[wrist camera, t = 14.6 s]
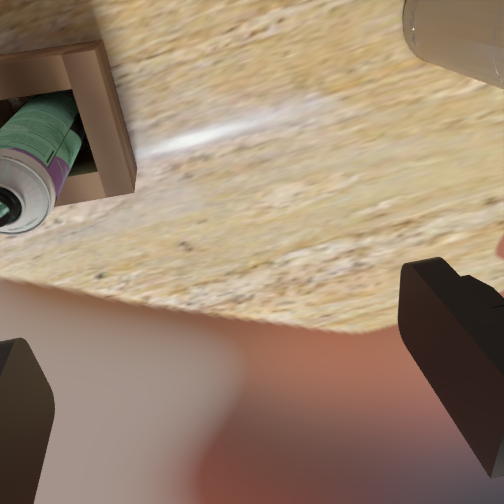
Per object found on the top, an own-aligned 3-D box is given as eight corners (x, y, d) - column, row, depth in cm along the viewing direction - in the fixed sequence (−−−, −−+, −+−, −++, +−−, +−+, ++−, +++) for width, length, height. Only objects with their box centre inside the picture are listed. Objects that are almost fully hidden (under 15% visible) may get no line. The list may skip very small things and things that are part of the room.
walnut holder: (102, 39, 40) (94, 50, 35) (137, 168, 47) (134, 192, 42) (-40, 61, 39) (-69, 74, 34) (15, 189, 46) (-3, 216, 41)
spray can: (17, 130, 43) (-74, 235, 26) (37, 76, 41) (-47, 152, 24) (75, 157, 45) (25, 269, 28) (98, 107, 43) (58, 196, 26)
